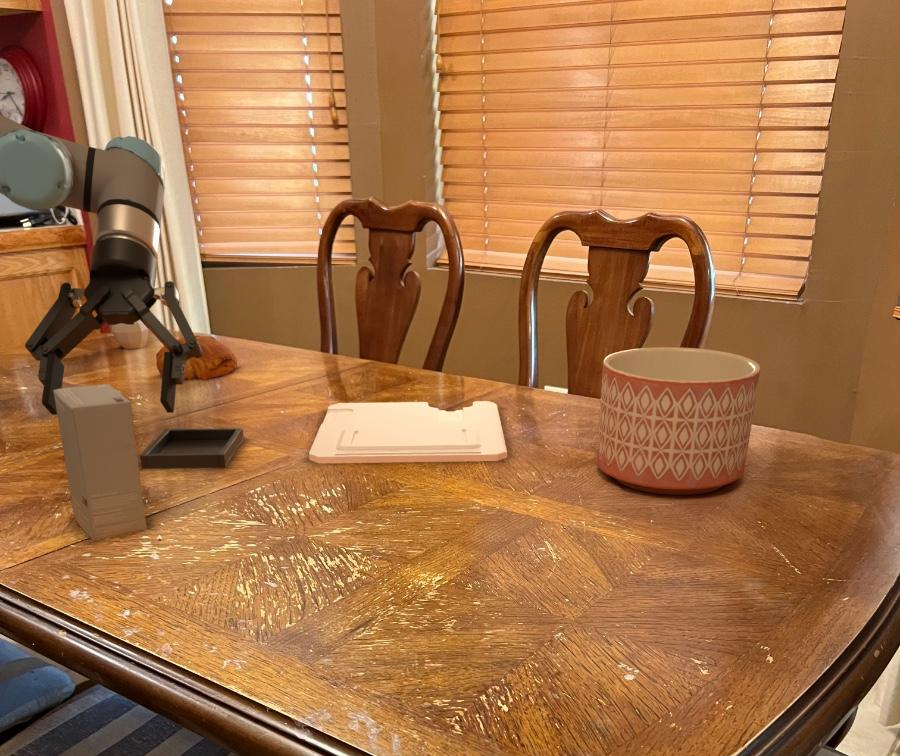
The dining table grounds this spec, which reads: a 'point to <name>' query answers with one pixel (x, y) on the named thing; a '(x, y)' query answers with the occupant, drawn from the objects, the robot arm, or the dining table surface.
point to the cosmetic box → (101, 460)
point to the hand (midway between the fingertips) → (108, 408)
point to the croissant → (205, 359)
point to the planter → (676, 418)
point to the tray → (408, 433)
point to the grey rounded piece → (131, 335)
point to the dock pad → (193, 448)
